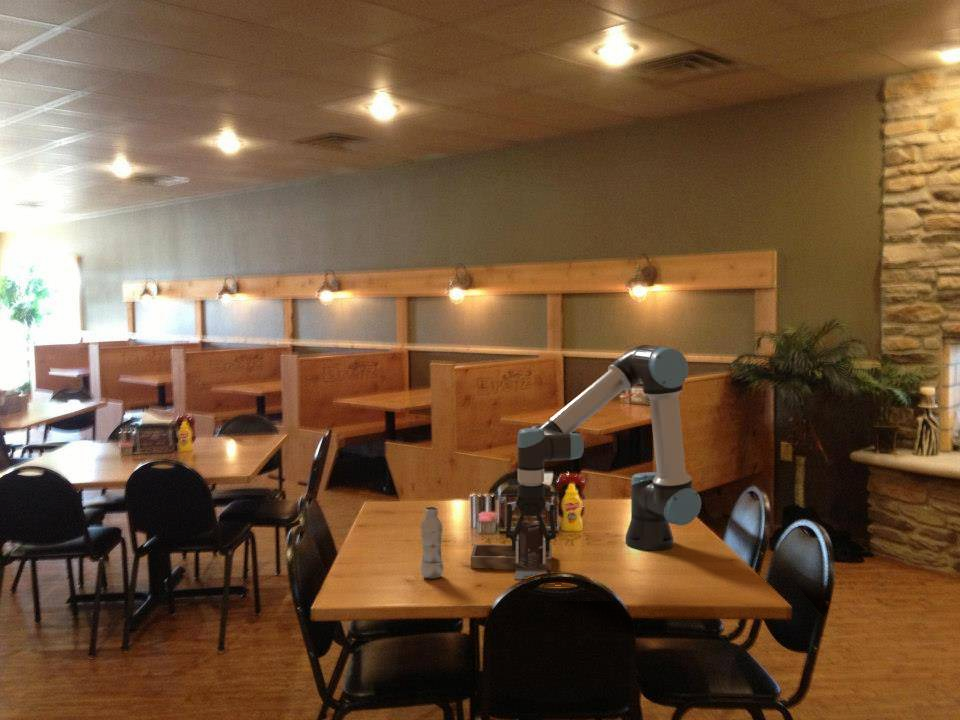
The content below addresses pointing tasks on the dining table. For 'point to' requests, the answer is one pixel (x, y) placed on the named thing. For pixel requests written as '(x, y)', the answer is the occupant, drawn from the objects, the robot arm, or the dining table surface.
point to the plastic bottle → (431, 544)
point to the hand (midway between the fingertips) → (530, 561)
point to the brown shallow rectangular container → (489, 557)
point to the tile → (527, 572)
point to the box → (530, 544)
